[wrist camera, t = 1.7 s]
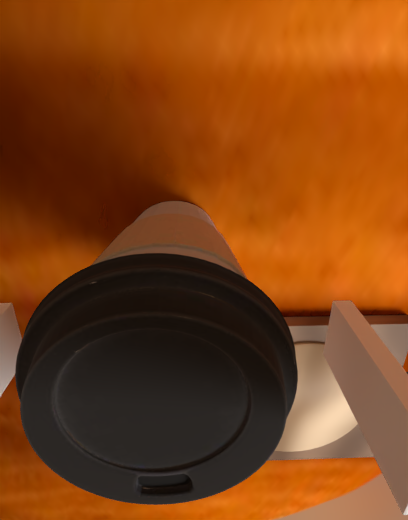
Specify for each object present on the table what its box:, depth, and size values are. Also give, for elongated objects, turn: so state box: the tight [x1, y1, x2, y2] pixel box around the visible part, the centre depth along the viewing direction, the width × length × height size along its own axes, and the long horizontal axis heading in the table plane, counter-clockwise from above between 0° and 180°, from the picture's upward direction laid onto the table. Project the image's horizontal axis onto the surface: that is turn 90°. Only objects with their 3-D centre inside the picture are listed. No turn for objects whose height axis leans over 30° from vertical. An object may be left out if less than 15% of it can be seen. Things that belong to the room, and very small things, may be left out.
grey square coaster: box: [268, 315, 408, 460], centre depth 30 cm, size 16×15×2 cm
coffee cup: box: [15, 201, 298, 505], centre depth 17 cm, size 9×9×15 cm
